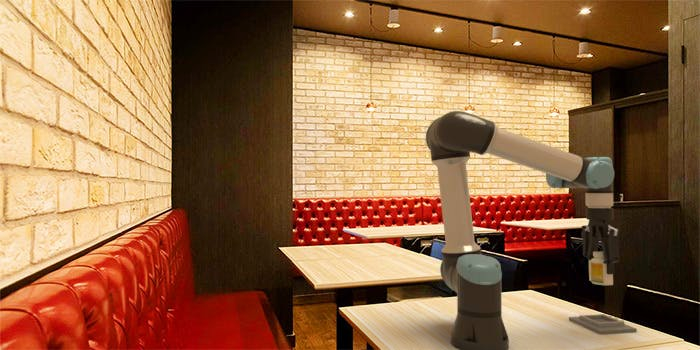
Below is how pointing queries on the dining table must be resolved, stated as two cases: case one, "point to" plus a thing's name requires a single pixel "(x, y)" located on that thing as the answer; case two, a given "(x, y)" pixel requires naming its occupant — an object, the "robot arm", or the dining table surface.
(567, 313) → the dining table surface
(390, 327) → the dining table surface
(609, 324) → the socket board
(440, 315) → the dining table surface
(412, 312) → the dining table surface
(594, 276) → the supplement bottle
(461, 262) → the robot arm
